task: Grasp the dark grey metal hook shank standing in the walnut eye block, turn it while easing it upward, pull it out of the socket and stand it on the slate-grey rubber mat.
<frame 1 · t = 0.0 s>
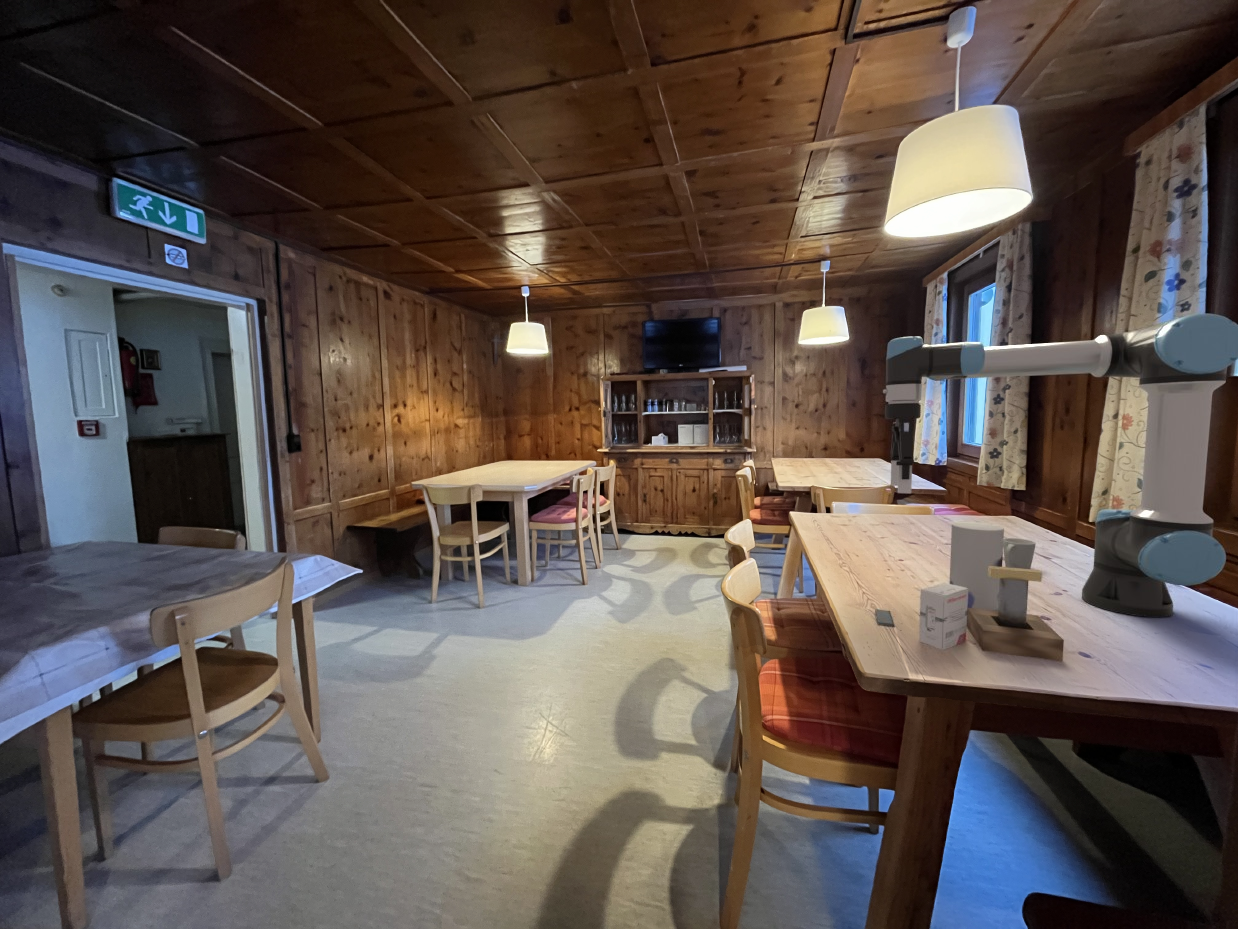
hand: (900, 489, 121), 28 cm above the table, fingers open, 13 cm apart
container: (973, 607, 118), on the table
cup: (1015, 570, 145), on the table
eye block: (1010, 647, 97), on the table
ink box: (942, 646, 99), on the table
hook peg: (1010, 642, 97), point 1 cm above the table, touching eye block
mat: (896, 620, 111), on the table
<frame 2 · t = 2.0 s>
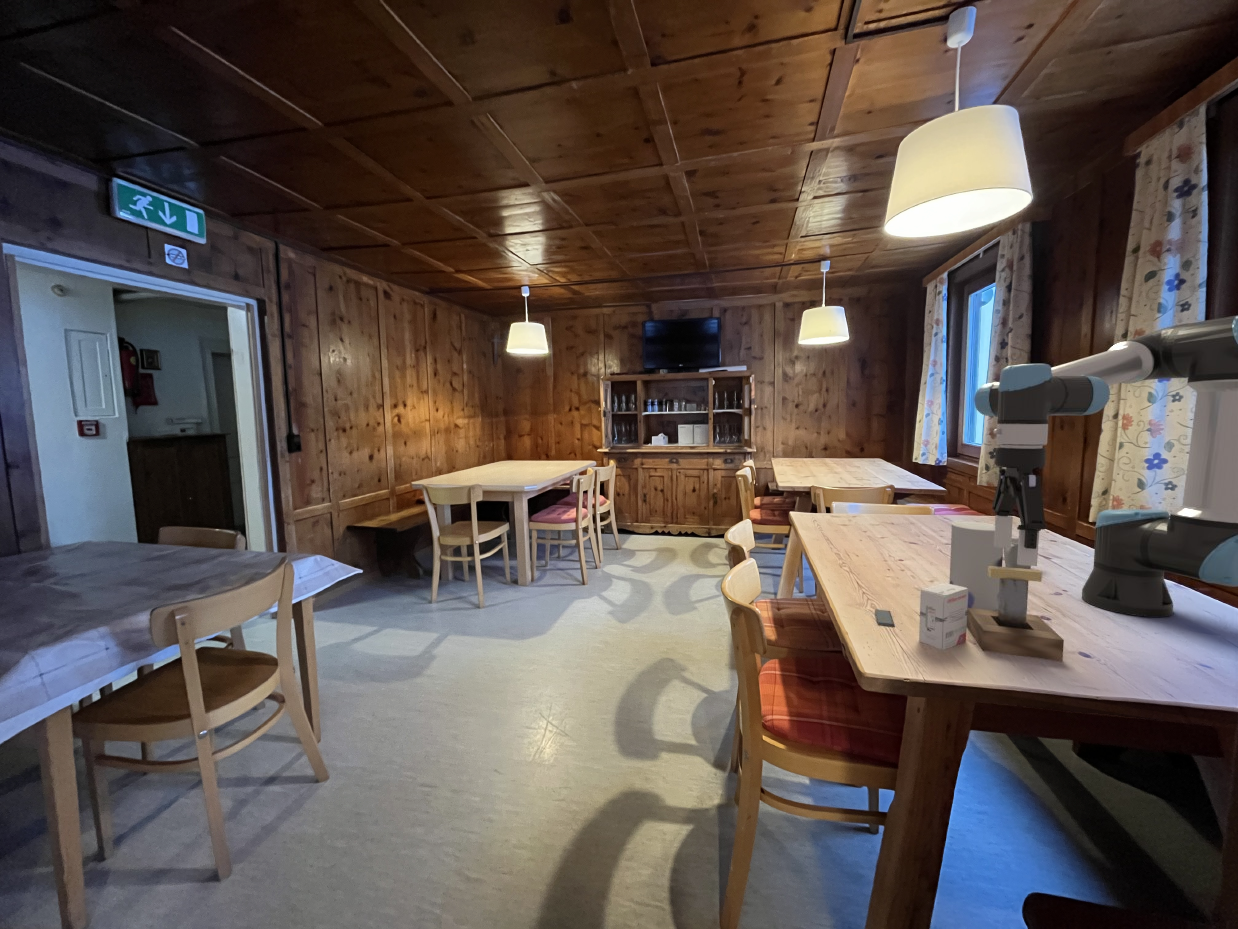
hand: (1013, 555, 96), 18 cm above the table, fingers open, 13 cm apart
nothing on the table moved.
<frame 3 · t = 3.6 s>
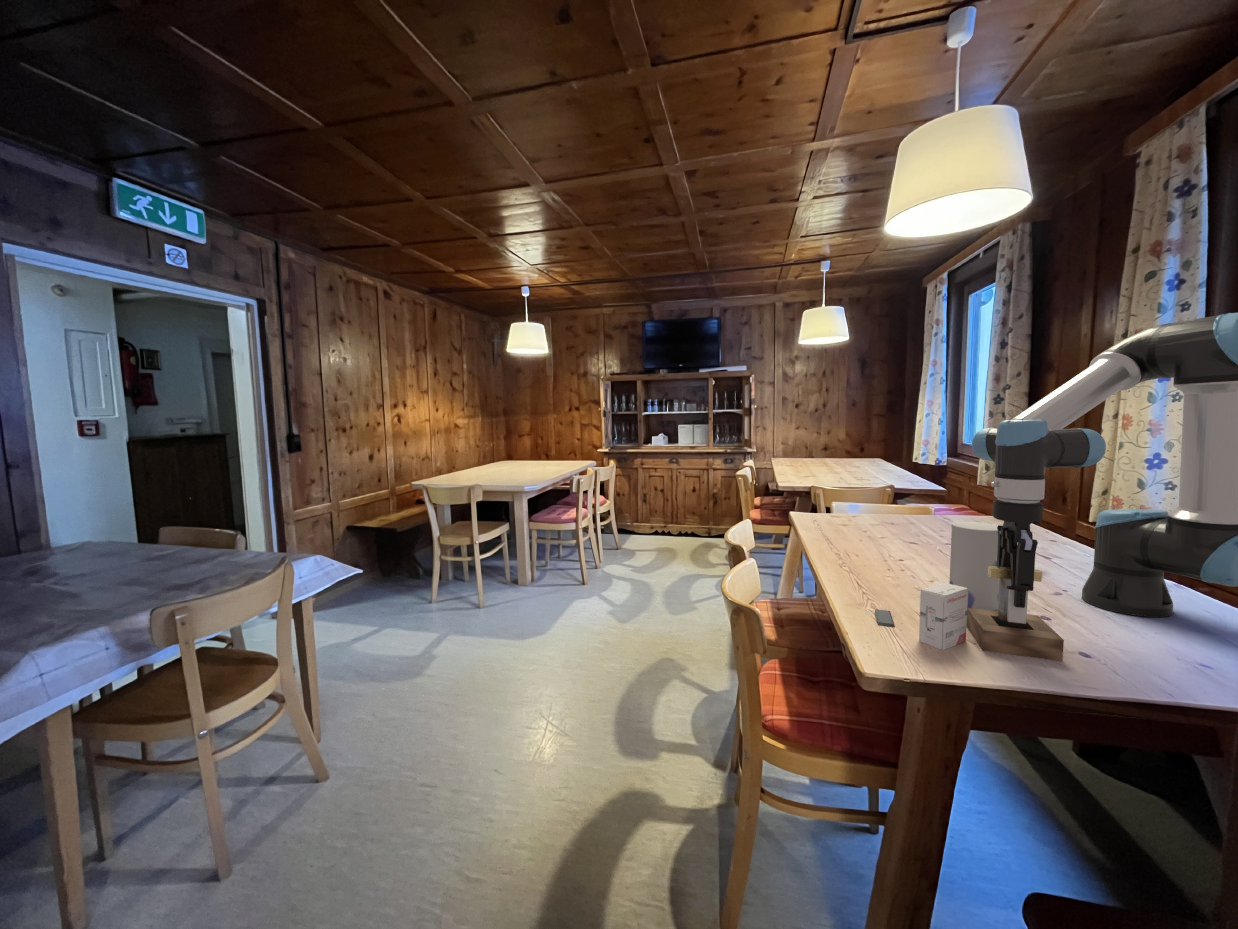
hand: (1011, 616, 97), 6 cm above the table, fingers closed on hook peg, 4 cm apart
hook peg: (1010, 642, 97), point 1 cm above the table, touching eye block, gripper
everything else where it was.
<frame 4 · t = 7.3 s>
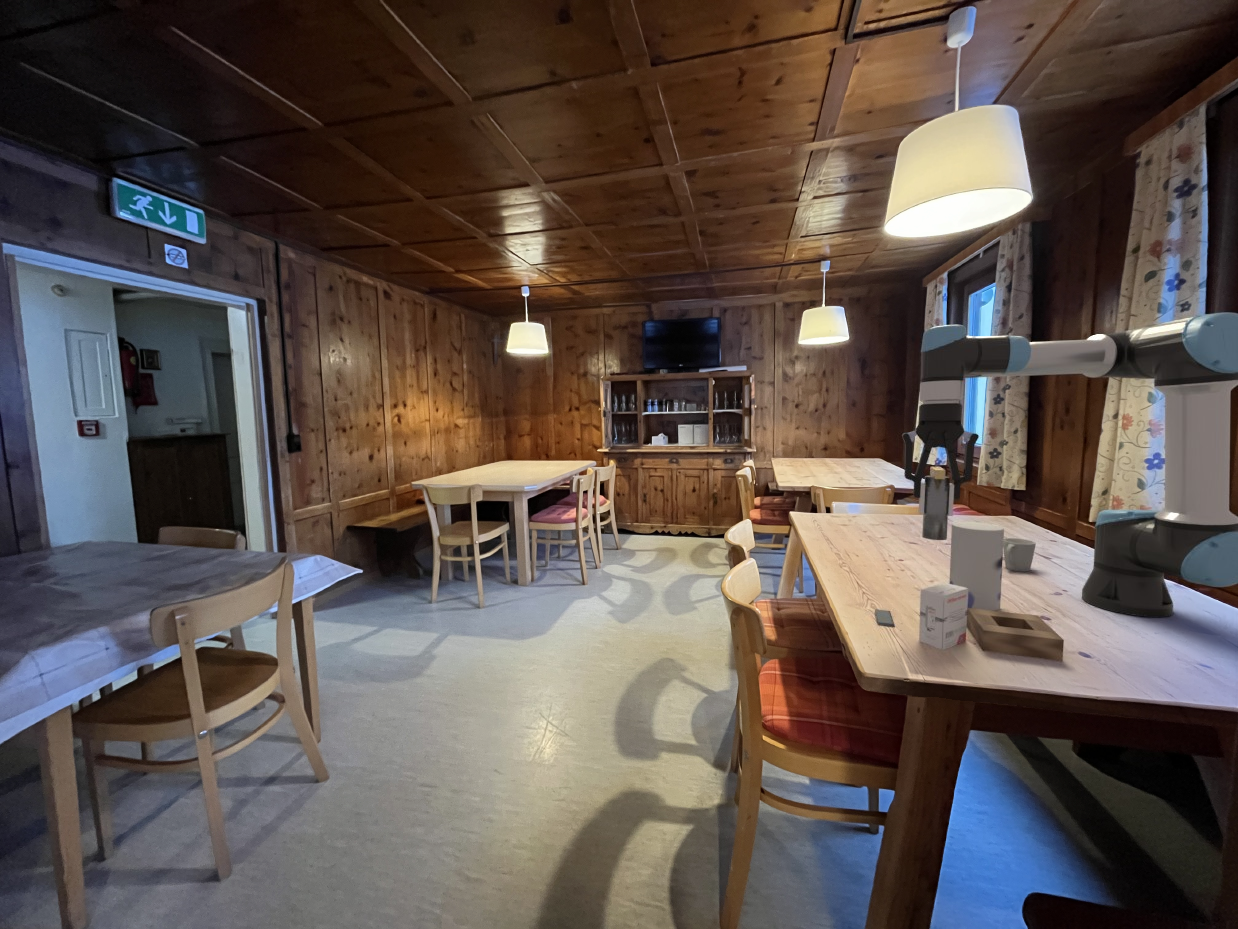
hand: (935, 513, 104), 25 cm above the table, fingers closed on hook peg, 4 cm apart
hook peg: (934, 537, 104), point 20 cm above the table, touching gripper
everything else where it was.
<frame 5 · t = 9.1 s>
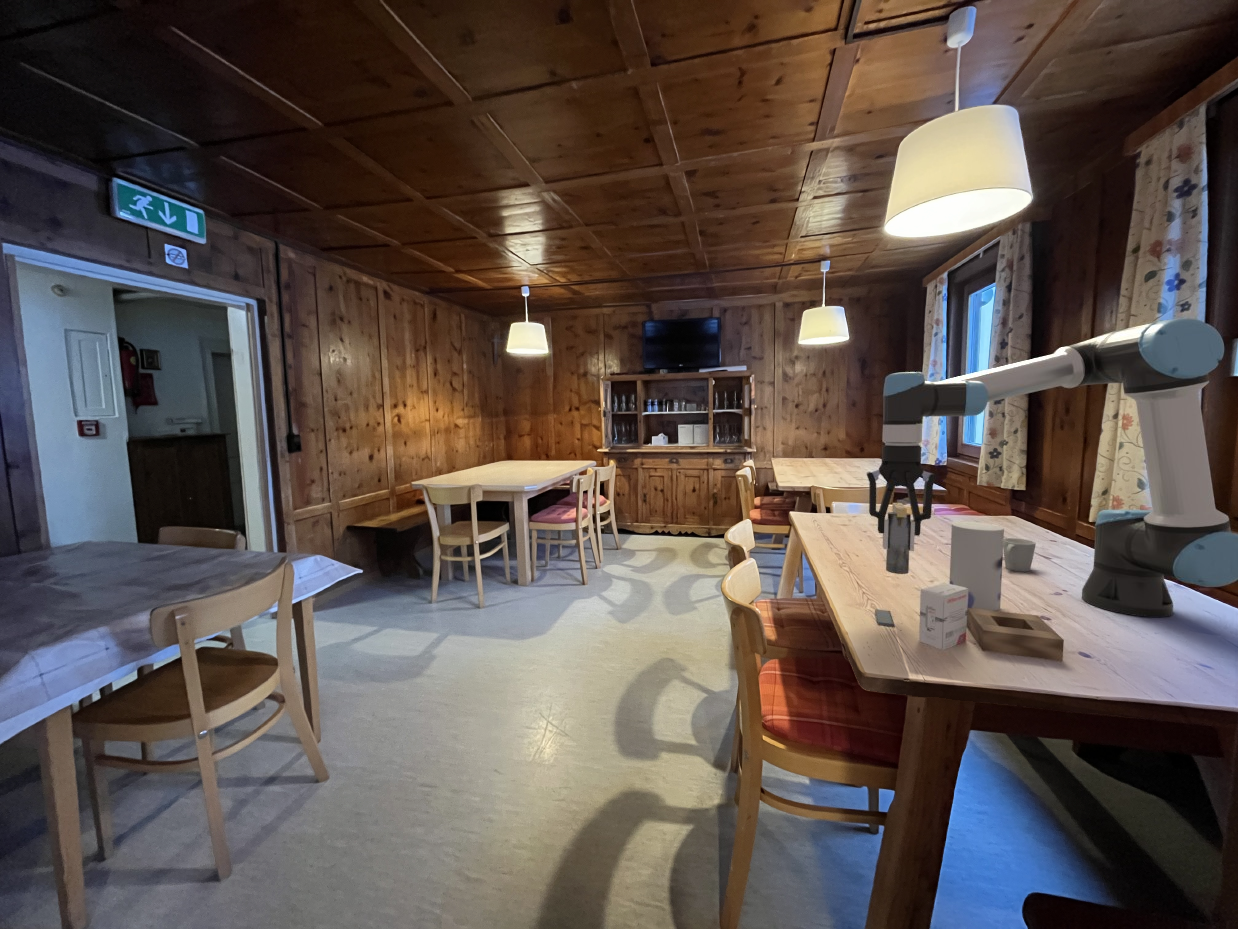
hand: (897, 548, 110), 17 cm above the table, fingers closed on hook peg, 4 cm apart
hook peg: (897, 571, 110), point 11 cm above the table, touching gripper
everything else where it was.
when the fingers open (7 cm above the table, at t = 10.8 s): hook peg drops 1 cm, resting on mat.
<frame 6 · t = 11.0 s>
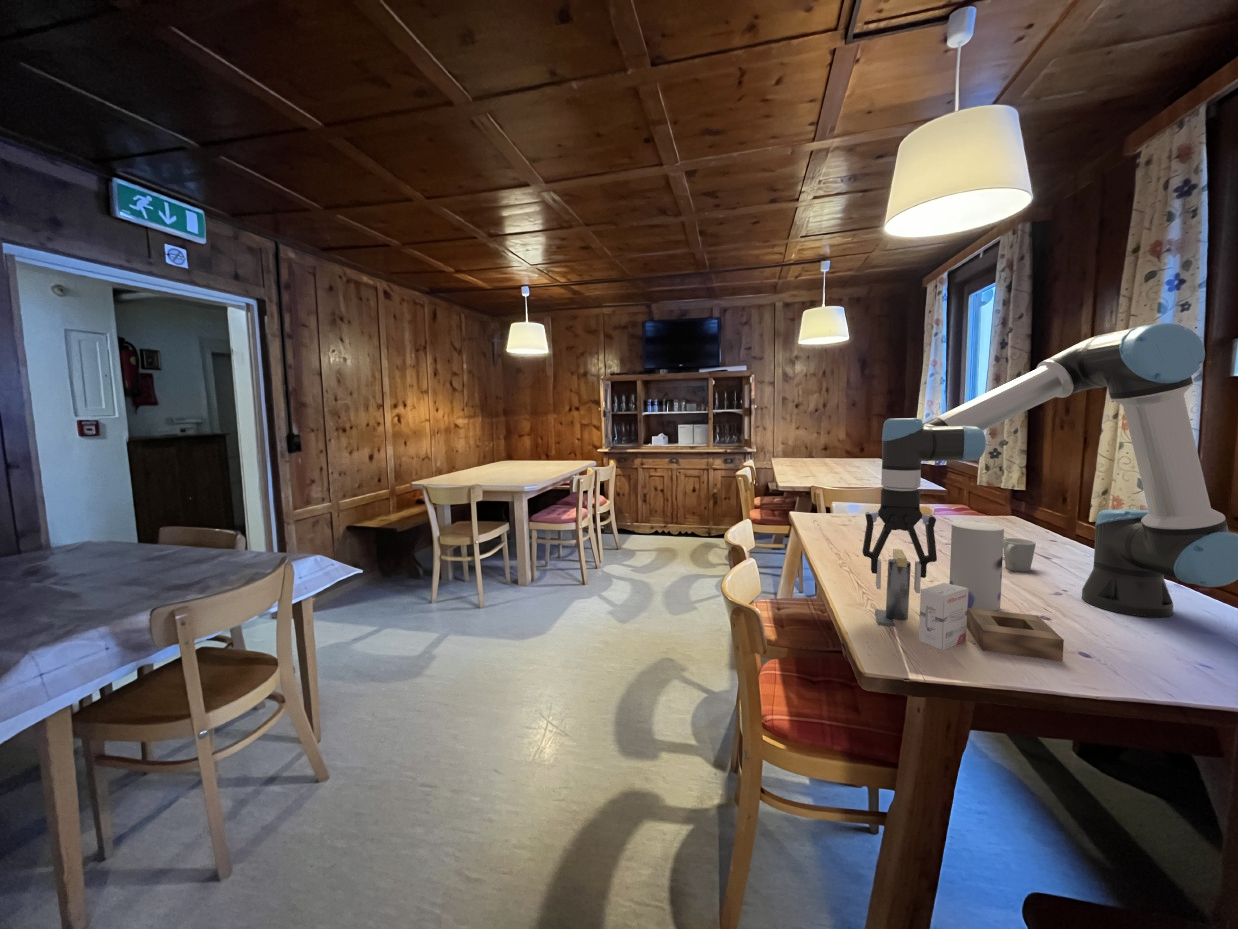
hand: (897, 589, 110), 7 cm above the table, fingers open, 7 cm apart
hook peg: (896, 617, 111), point 1 cm above the table, touching mat
everything else where it was.
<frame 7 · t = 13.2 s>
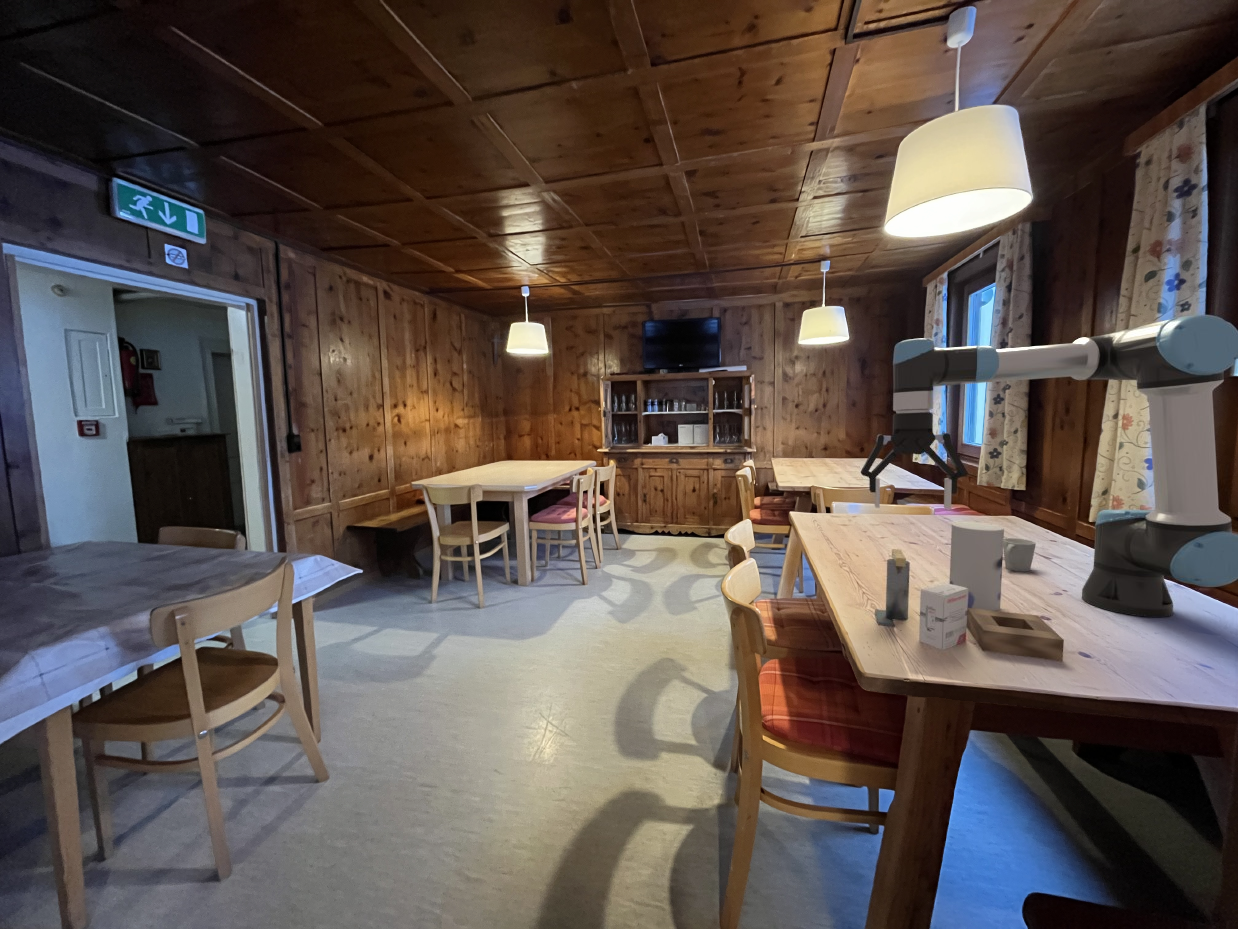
hand: (911, 507, 109), 26 cm above the table, fingers open, 13 cm apart
nothing on the table moved.
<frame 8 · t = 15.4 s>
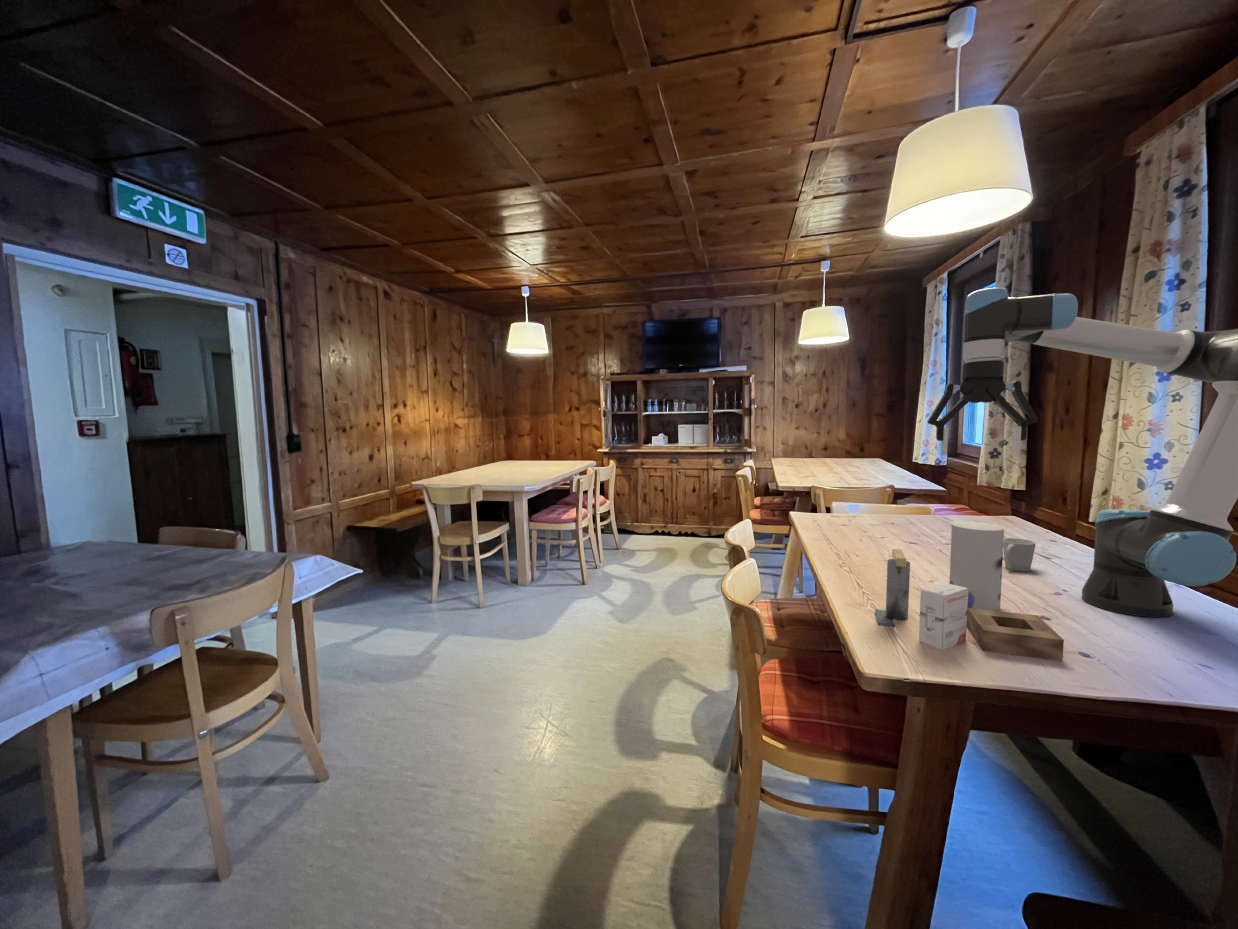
hand: (978, 455, 112), 37 cm above the table, fingers open, 13 cm apart
nothing on the table moved.
at the end: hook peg inside the target area (0.0 cm from its centre), point 0.6 cm above the table; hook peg touching mat; the gripper is holding nothing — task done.
